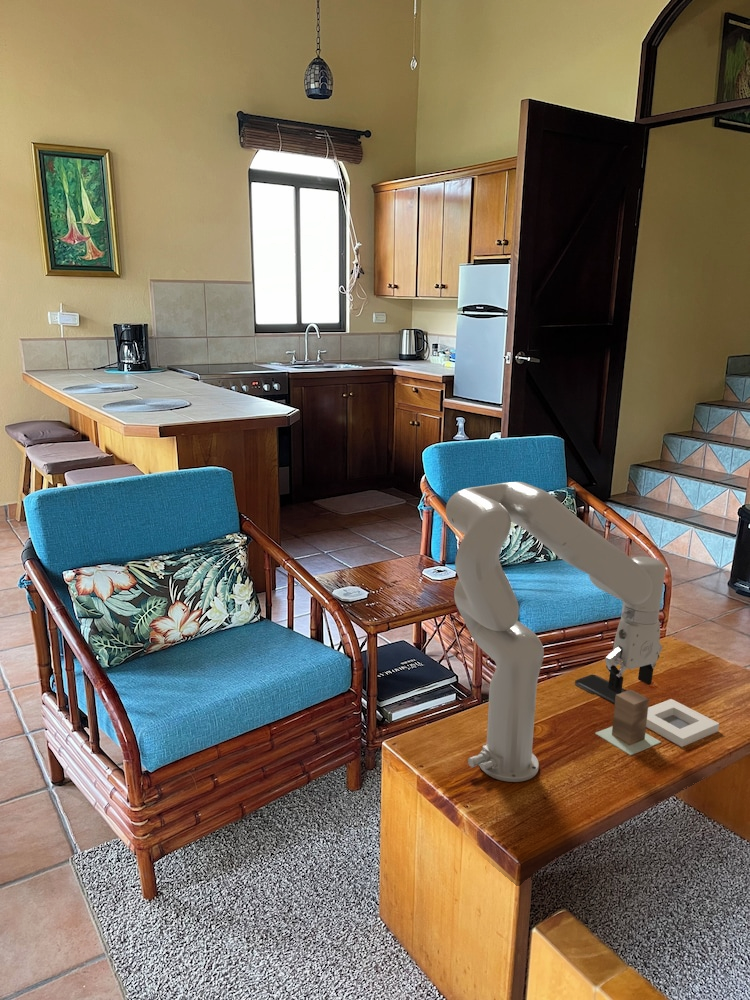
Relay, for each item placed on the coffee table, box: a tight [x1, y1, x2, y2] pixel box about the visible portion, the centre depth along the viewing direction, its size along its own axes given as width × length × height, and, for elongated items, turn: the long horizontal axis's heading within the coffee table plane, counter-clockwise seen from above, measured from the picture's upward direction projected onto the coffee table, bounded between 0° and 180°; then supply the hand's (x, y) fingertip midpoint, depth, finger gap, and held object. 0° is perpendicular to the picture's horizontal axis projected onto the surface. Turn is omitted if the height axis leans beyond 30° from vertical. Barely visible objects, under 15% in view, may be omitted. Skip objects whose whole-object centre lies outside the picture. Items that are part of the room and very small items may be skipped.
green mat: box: [594, 725, 662, 756], centre depth 166 cm, size 10×10×1 cm
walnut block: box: [611, 689, 650, 746], centre depth 165 cm, size 5×5×10 cm
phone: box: [574, 674, 628, 705], centre depth 188 cm, size 8×1×15 cm
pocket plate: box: [646, 698, 720, 748], centre depth 172 cm, size 13×13×2 cm
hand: (629, 686), depth 163 cm, fingers open, 9 cm apart
